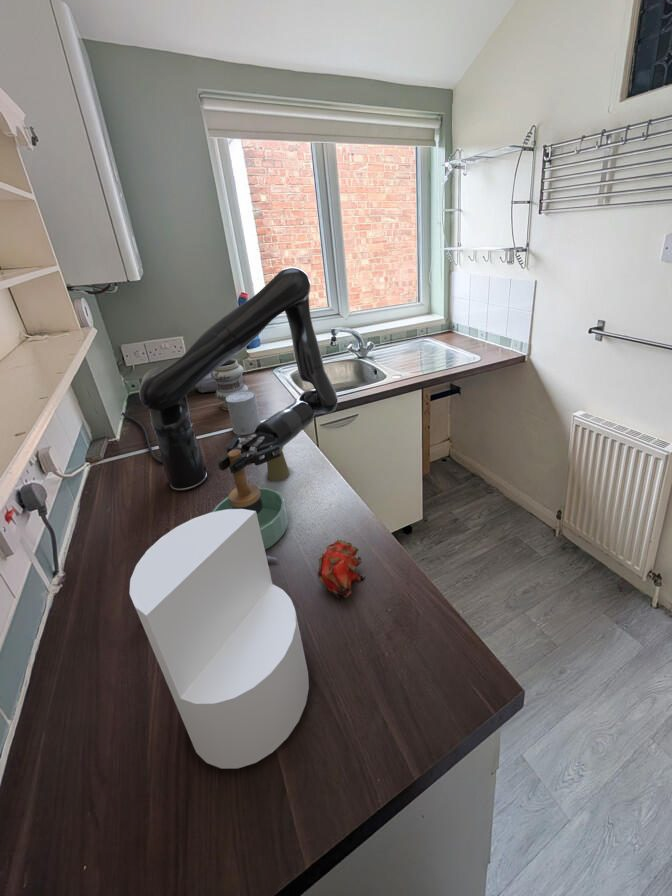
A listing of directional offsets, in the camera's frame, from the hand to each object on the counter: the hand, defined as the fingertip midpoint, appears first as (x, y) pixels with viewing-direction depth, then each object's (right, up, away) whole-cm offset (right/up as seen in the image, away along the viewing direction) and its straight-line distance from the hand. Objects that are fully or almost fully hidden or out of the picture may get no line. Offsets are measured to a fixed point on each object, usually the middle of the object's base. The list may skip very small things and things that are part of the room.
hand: (226, 468), depth 84 cm
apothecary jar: (-27, +9, +76) cm, 81 cm away
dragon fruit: (+25, -22, -5) cm, 33 cm away
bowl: (+2, -17, +10) cm, 19 cm away
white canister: (-15, +2, +57) cm, 59 cm away
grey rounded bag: (-40, +16, +95) cm, 104 cm away
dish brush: (+2, -11, +7) cm, 13 cm away
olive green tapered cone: (+3, -8, +30) cm, 31 cm away
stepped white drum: (+13, -30, -23) cm, 40 cm away
